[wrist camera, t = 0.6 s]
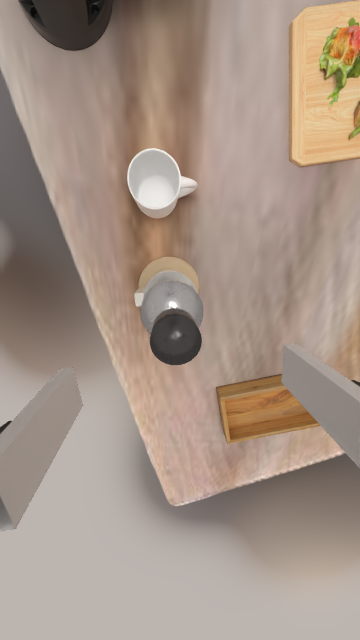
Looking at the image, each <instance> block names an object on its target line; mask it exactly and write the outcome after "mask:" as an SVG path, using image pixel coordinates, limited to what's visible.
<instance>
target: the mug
mask: <svg viewBox="0 0 360 640" xmlns="http://www.w3.org/2000/svg"><path fill="white" fill-rule="evenodd" d="M127 182H128V187H129V190H130V192H131V194H132V196H133V198H134V200H135V201H136V203H137V205H138V207H139V208H140V210H141V211H142V212H143V213H144V214H145V215H147V216H149V217H151V218H163V217H166V216H167V215H169V214H170V213H171V212H172V211H173V210H174V208H175V206H176V203H177V200H178V198H180V197H183V196H185V195H188V194H189V193H191V192H193V191H194V190H195V189H196V188H197V186H198V185H197V183H196V181H194V180H192V179H190V178H187V177H183V176H181V174H180V170H179V167H178V165H177V163H176V162H175V160H174V159H173V158H172V157H171V156H170V155H169V154H168V153H166V152H165V151H163V150H160V149H156V148H150V149H145V150H143V151H141V152H139V153H138V154H137V155H136V156H135V157H134V158H133V159H132V161H131V163H130V165H129V168H128V173H127ZM187 187H192V188H187Z"/></svg>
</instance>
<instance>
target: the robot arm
mask: <svg viewBox="0 0 360 640" xmlns="http://www.w3.org/2000/svg"><path fill="white" fill-rule="evenodd" d="M18 1H19V3H20V5H21V7H22V8H23V10H24V12H25V14H26V15H27V17H28V19H29V20H30V22H31V23H32V25H33V26H34V27H35V29H36V30H37V31H38V32H39V33H40V34H41V35H42V36H43V37H44V38H45V39H46V40H48V41H49V42H51V43H52V44H54V45H56V46H58V47H61V48H64V49H69V50H78V49H83V48H86V47H88V46H90V45H92V44H93V43H94V42H96V41H97V40H98V39H99V38H100V36H101V35H102V34H103V32H104V31H105V29H106V27H107V24H108V22H109V19H110V15H111V10H112V0H18ZM281 382H282V384H283V385H284V386H285V387H286V388H287V389H288V390H289V391H290V392H291V393H292V394H293V396H294V397H295V398H296V399H297V400H298V401H299V402H300V403H301V404H302V405H303V407H304V408H305V409H306V410H307V411H308V412H309V413H310V414H311V415H312V416H313V417H314V419H315V420H316V421H317V422H318V423H319V424H320V425H321V426H322V427H323V428H324V430H325V431H326V432H327V433H328V434H329V435H330V436H331V437H332V438H333V439H334V441H335V442H336V443H337V444H338V445H339V446H340V447H341V448H342V449H343V450H344V451H345V453H346V454H347V455H348V456H349V457H350V458H351V459H352V460H353V461H354V462H355V463H356V465H357V466H358V467H359V468H360V382H357V381H355V380H349V379H348V378H346V377H345V376H343V375H342V374H340V373H339V372H337V371H336V370H334V369H333V368H331V367H330V366H328V365H327V364H325V363H324V362H323V361H321V360H320V359H318V358H317V357H315V356H314V355H312V354H311V353H309V352H308V351H306V350H305V349H303V348H302V347H300V346H299V345H297V344H296V343H291V344H283V362H282V380H281ZM82 406H83V404H82V400H81V396H80V392H79V389H78V384H77V381H76V377H75V373H74V369H73V367H72V368H63V369H60V370H59V371H58V372H57V373H56V374H55V375H54V376H53V377H52V378H51V380H50V381H49V382H48V383H47V384H46V385H45V386H44V387H43V388H42V389H41V390H40V391H39V393H38V394H37V395H36V396H35V397H34V398H33V399H32V400H31V401H30V402H29V403H28V405H27V406H26V407H25V408H24V409H23V410H22V411H21V412H20V413H19V414H18V416H16V418H15V419H14V420H13V421H8V422H7V423H6V424H4V425H3V426H1V427H0V531H5V530H12V529H16V527H17V525H18V523H19V522H20V520H21V518H22V516H23V514H24V512H25V511H26V509H27V507H28V505H29V503H30V501H31V500H32V498H33V496H34V494H35V492H36V490H37V489H38V487H39V485H40V483H41V481H42V479H43V478H44V476H45V474H46V472H47V470H48V468H49V467H50V465H51V463H52V461H53V459H54V457H55V456H56V454H57V452H58V450H59V448H60V446H61V445H62V443H63V441H64V439H65V437H66V435H67V434H68V432H69V430H70V428H71V426H72V424H73V423H74V421H75V419H76V417H77V415H78V413H79V412H80V410H81V408H82Z"/></svg>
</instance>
